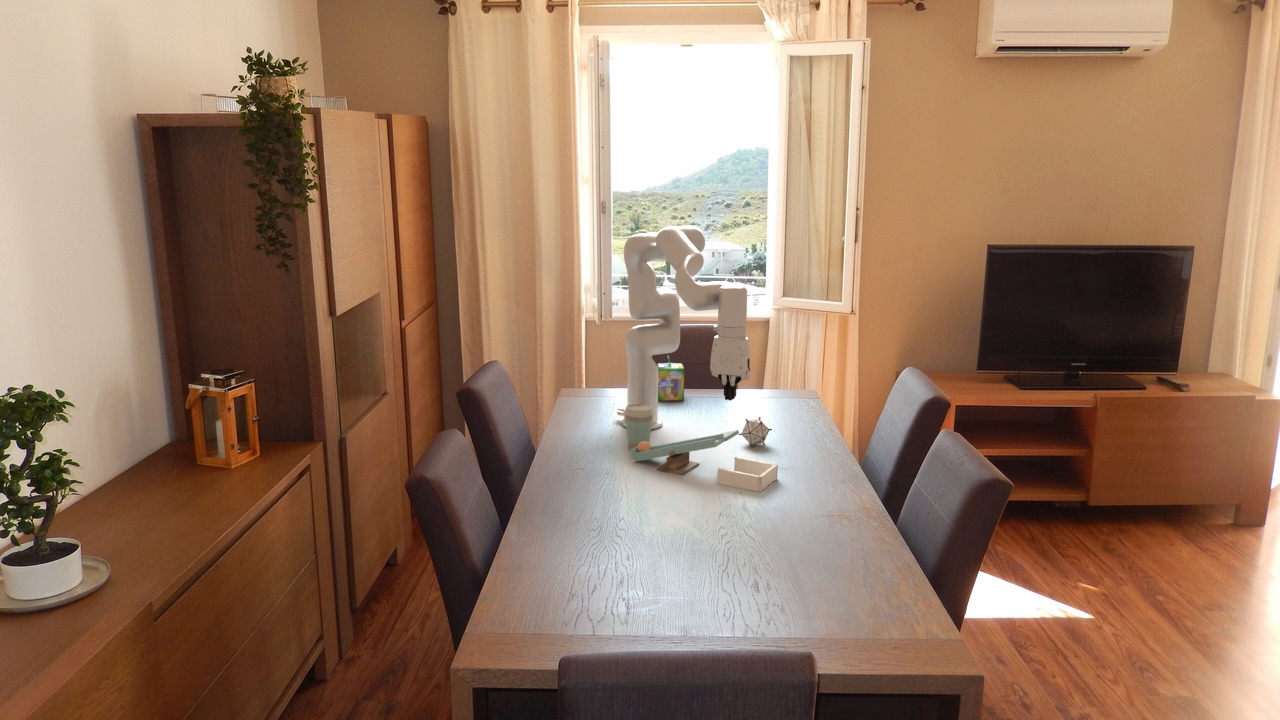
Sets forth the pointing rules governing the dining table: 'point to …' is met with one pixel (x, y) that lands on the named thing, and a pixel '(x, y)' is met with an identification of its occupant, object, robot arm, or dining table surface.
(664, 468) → the fulcrum
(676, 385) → the chalk box
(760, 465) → the tray
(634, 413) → the coffee cup
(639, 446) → the ball
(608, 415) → the dining table surface
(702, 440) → the lever
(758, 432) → the game die
